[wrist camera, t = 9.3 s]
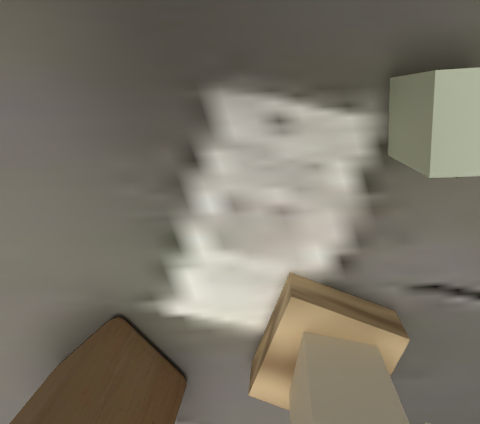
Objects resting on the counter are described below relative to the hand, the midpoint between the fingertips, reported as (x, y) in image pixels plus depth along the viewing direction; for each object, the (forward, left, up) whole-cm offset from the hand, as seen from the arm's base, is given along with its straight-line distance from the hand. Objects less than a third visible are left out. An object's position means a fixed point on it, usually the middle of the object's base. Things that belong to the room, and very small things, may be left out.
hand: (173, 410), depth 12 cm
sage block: (-9, +13, -26) cm, 30 cm away
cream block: (+12, +10, -21) cm, 26 cm away
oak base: (+12, +10, -26) cm, 30 cm away
